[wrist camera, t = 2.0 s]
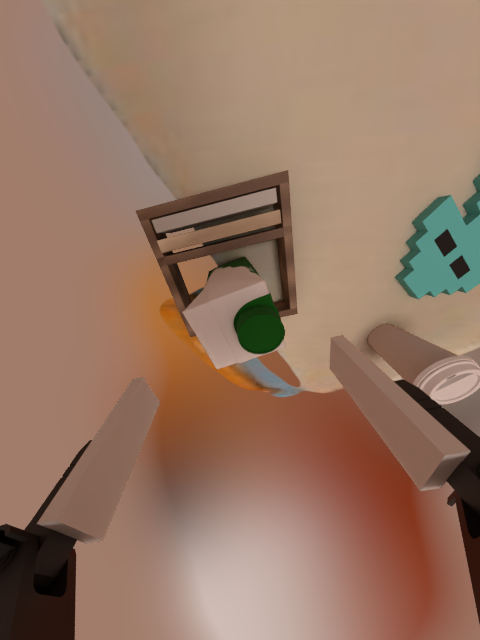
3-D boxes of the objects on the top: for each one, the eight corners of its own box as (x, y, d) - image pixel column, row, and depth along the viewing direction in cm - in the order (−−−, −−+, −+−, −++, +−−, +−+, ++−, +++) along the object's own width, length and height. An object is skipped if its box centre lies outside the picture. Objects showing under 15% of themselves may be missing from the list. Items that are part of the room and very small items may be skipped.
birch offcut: (174, 238, 28) (156, 240, 22) (267, 214, 27) (280, 209, 21) (177, 248, 29) (161, 253, 22) (269, 225, 28) (281, 223, 21)
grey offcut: (168, 222, 27) (151, 220, 21) (265, 197, 26) (275, 187, 20) (171, 232, 28) (156, 233, 22) (267, 208, 27) (277, 202, 21)
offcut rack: (149, 214, 26) (135, 211, 22) (278, 179, 25) (288, 170, 21) (194, 325, 36) (190, 336, 32) (289, 304, 35) (297, 313, 31)
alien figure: (496, 139, 25) (375, 254, 31) (519, 131, 23) (385, 256, 30) (528, 233, 31) (422, 312, 38) (548, 233, 29) (432, 316, 36)
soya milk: (262, 293, 33) (299, 364, 16) (220, 309, 35) (211, 391, 17) (248, 249, 29) (275, 276, 12) (201, 268, 31) (161, 320, 13)
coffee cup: (404, 311, 37) (500, 356, 24) (401, 344, 41) (482, 397, 28) (359, 326, 38) (428, 377, 25) (361, 356, 43) (421, 413, 29)
